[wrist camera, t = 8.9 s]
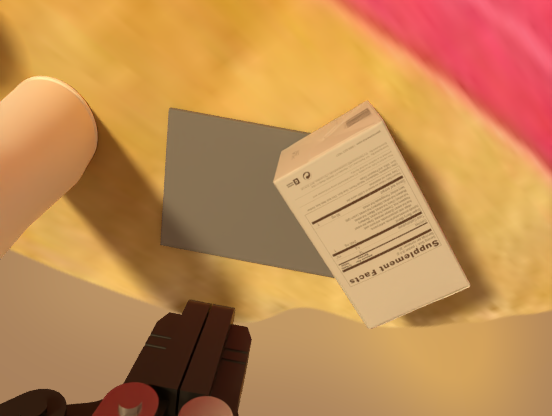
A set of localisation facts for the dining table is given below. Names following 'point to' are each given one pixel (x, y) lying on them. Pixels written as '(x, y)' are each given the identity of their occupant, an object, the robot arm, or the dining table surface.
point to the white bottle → (40, 150)
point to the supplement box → (368, 217)
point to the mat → (231, 193)
